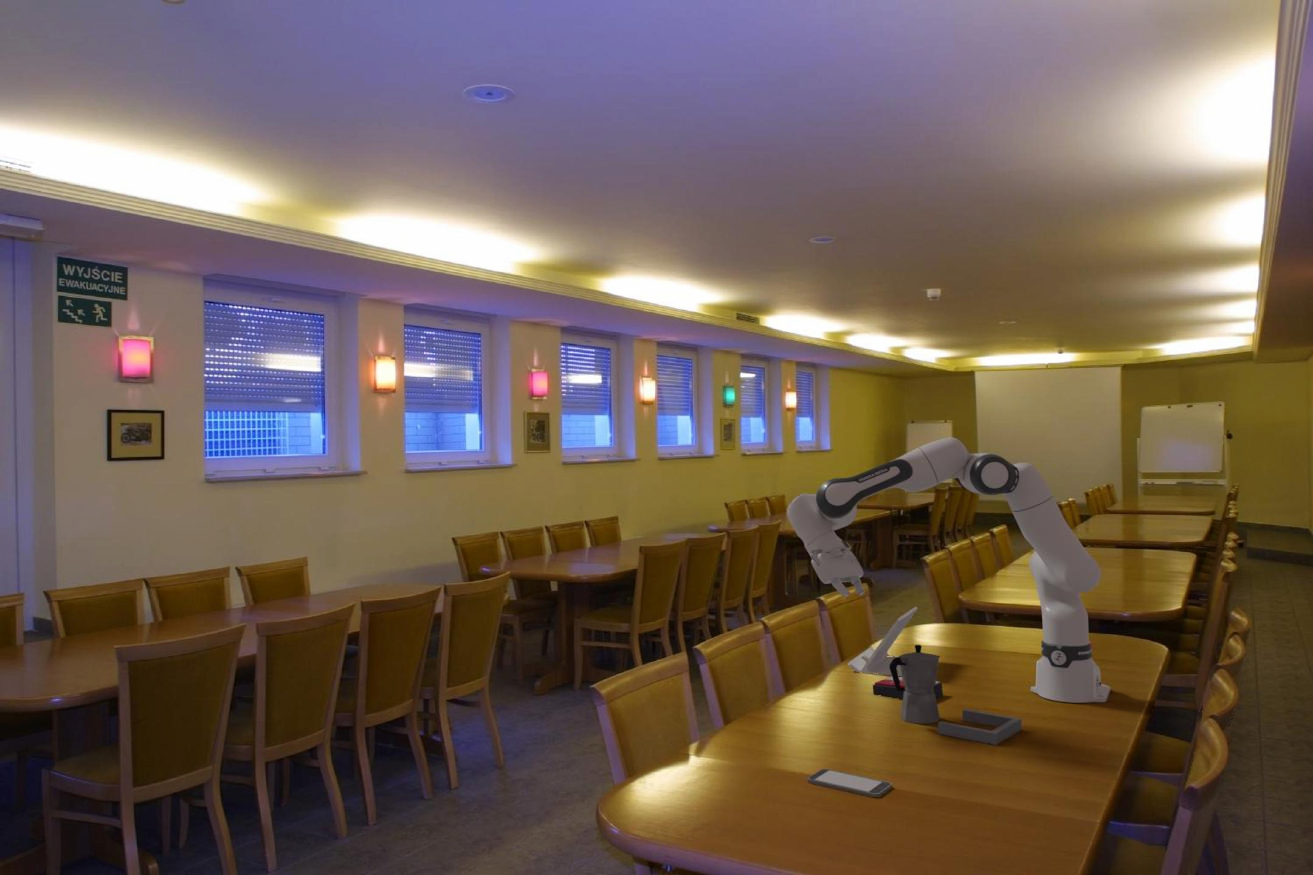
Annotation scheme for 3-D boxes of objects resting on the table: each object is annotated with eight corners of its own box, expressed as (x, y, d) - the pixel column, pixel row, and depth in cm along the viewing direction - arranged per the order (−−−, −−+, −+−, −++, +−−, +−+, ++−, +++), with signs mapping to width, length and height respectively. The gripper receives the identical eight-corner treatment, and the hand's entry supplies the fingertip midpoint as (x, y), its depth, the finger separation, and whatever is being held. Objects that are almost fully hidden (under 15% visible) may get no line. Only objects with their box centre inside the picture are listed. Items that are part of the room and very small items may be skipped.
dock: (965, 719, 219) (965, 708, 219) (1021, 729, 210) (1021, 718, 210) (938, 733, 208) (937, 722, 208) (996, 745, 199) (995, 733, 199)
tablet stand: (926, 660, 284) (924, 606, 285) (908, 678, 262) (906, 619, 262) (869, 656, 293) (867, 603, 293) (847, 672, 270) (845, 615, 271)
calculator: (891, 674, 252) (942, 679, 242) (892, 690, 252) (943, 695, 242) (871, 682, 244) (923, 687, 234) (872, 698, 244) (924, 704, 234)
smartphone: (877, 794, 169) (806, 778, 178) (877, 800, 169) (806, 783, 178) (893, 782, 175) (823, 767, 184) (893, 788, 175) (823, 773, 184)
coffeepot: (927, 710, 227) (925, 638, 228) (954, 719, 219) (952, 645, 219) (878, 719, 220) (876, 645, 221) (905, 729, 212) (903, 652, 212)
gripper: (817, 543, 230) (846, 589, 224) (851, 543, 246) (879, 586, 240) (799, 557, 232) (827, 603, 226) (833, 555, 249) (861, 599, 243)
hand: (854, 594), depth 233 cm, fingers open, 8 cm apart
